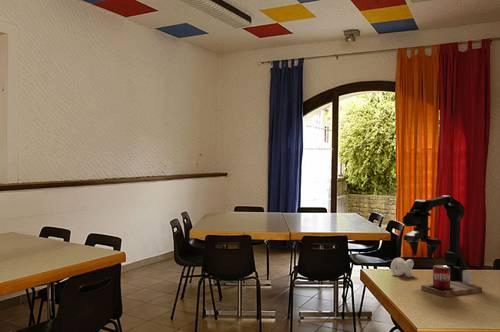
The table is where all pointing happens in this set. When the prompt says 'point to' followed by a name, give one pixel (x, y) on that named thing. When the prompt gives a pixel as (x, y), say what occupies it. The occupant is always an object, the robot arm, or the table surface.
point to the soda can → (441, 277)
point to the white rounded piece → (402, 267)
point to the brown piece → (455, 287)
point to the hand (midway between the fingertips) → (422, 257)
